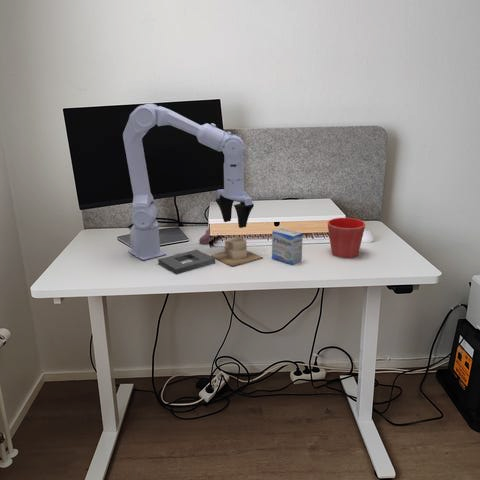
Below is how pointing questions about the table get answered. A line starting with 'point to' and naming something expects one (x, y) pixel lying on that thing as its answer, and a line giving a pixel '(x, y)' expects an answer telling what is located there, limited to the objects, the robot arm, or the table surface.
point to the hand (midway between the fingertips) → (234, 224)
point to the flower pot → (345, 236)
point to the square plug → (235, 248)
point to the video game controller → (206, 238)
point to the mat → (237, 262)
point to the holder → (178, 267)
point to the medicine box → (287, 246)
